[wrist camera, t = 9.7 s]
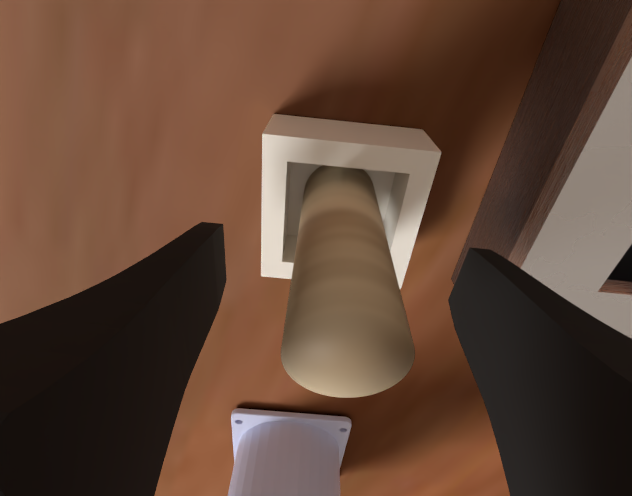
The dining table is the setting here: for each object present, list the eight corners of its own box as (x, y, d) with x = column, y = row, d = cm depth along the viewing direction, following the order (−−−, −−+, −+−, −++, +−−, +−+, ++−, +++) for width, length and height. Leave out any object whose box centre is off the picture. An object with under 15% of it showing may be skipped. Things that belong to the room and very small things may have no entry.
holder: (391, 252, 16) (400, 288, 14) (269, 240, 16) (260, 276, 14) (423, 129, 13) (441, 152, 11) (273, 113, 13) (262, 133, 11)
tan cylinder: (367, 228, 15) (397, 402, 8) (301, 221, 15) (277, 391, 8) (380, 165, 13) (431, 317, 7) (306, 157, 13) (284, 302, 7)
